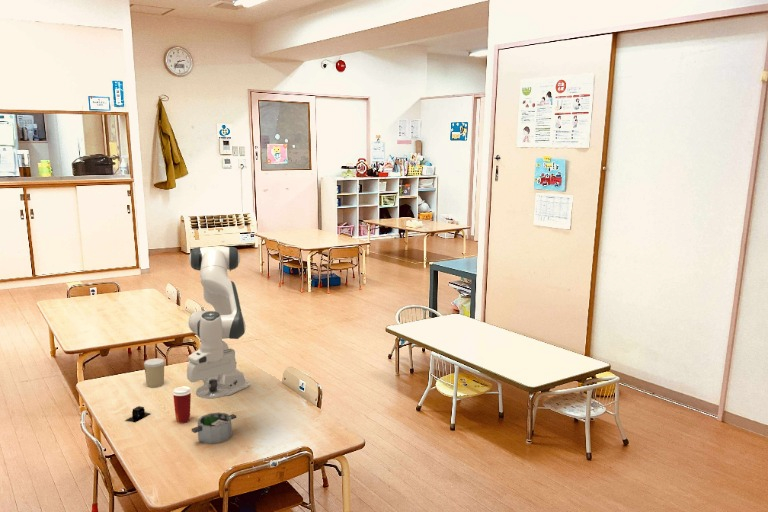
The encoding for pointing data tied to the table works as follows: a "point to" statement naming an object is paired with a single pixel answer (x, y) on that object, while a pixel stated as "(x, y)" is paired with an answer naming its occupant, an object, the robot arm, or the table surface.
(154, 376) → the coffee cup
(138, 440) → the table surface
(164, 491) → the table surface
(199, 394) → the lid
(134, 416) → the black stepped block
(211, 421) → the pot
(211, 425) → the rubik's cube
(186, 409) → the paper cup
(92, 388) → the table surface
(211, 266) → the robot arm
